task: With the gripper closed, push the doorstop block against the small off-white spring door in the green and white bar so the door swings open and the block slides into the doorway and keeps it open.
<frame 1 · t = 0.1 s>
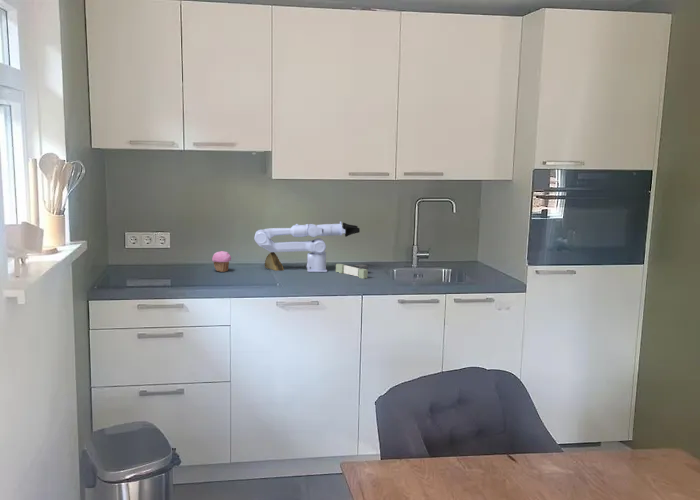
hand: (358, 229, 323), 21 cm above the table, tool horizontal, fingers open, 7 cm apart
doorstop: (360, 273, 321), on the table
rock: (273, 269, 326), on the table, touching arm
door: (352, 270, 315), point 2 cm above the table, hinge at 0.0°
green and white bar: (351, 275, 315), on the table
cupcake: (221, 271, 316), on the table
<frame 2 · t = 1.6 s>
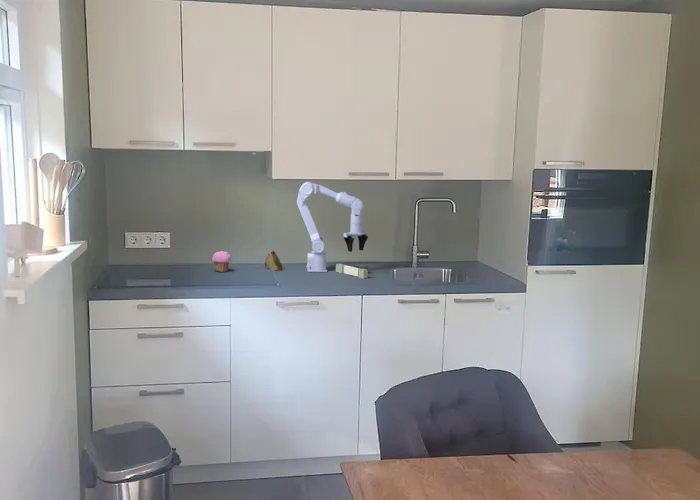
hand: (355, 250, 323), 10 cm above the table, tool pointing down, fingers open, 7 cm apart
rock: (273, 269, 326), on the table
everything else where it was.
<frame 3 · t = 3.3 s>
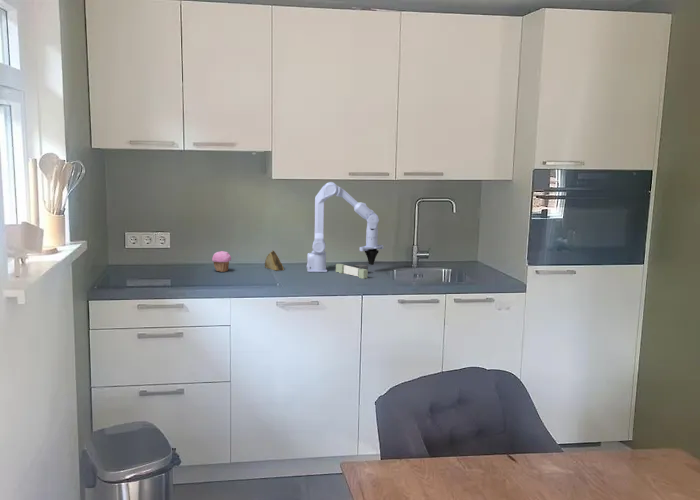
hand: (371, 264, 325), 4 cm above the table, tool pointing down, fingers closed
nothing on the table moved.
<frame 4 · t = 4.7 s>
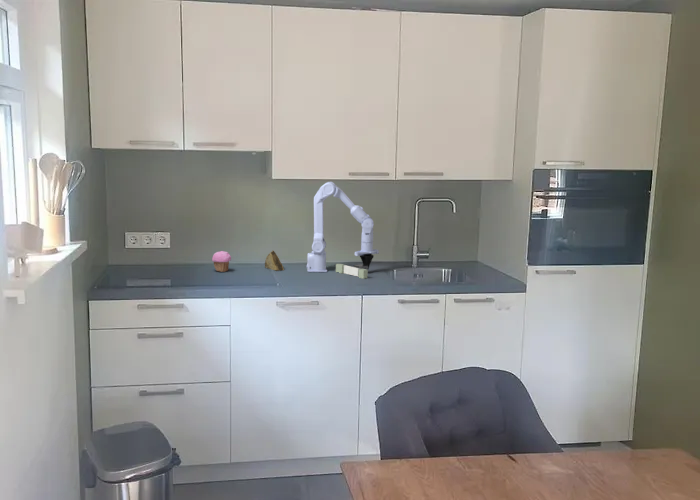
hand: (366, 269, 323), 2 cm above the table, tool pointing down, fingers closed
doorstop: (360, 273, 321), on the table, touching gripper
everything else where it was.
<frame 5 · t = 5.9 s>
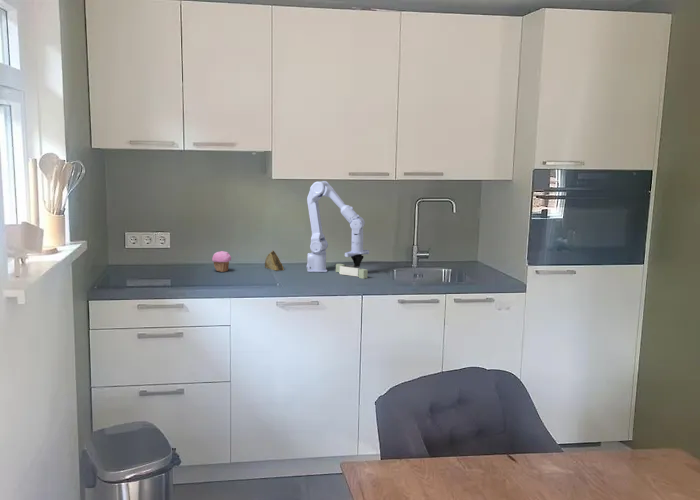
hand: (356, 270, 319), 2 cm above the table, tool pointing down, fingers closed, pressing on doorstop
doorstop: (352, 274, 317), on the table, touching door, gripper
door: (350, 271, 313), point 2 cm above the table, hinge at 18.0°, touching doorstop
everything else where it was.
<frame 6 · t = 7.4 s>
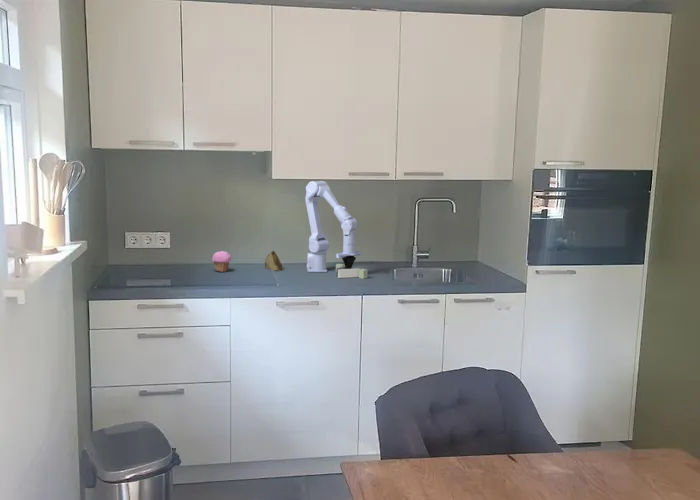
hand: (348, 271, 315), 2 cm above the table, tool pointing down, fingers closed
doorstop: (343, 276, 312), on the table, touching door, gripper
door: (349, 272, 309), point 2 cm above the table, hinge at 71.9°, touching doorstop
everything else where it was.
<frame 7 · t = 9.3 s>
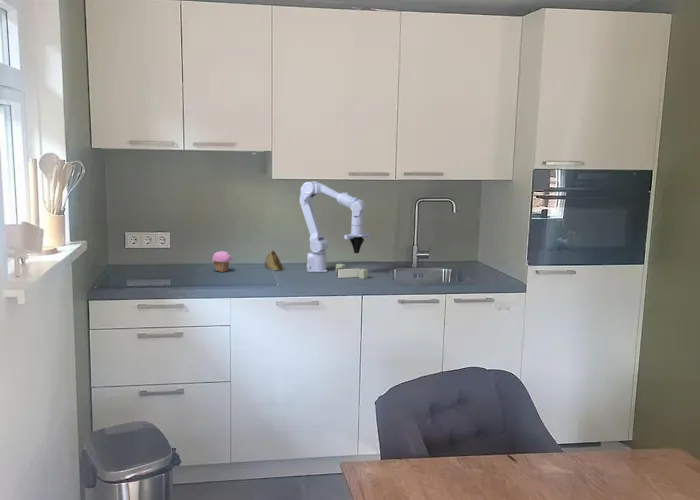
hand: (356, 253, 317), 10 cm above the table, tool pointing down, fingers closed
doorstop: (343, 276, 312), on the table
door: (349, 272, 309), point 2 cm above the table, hinge at 72.3°
everything else where it was.
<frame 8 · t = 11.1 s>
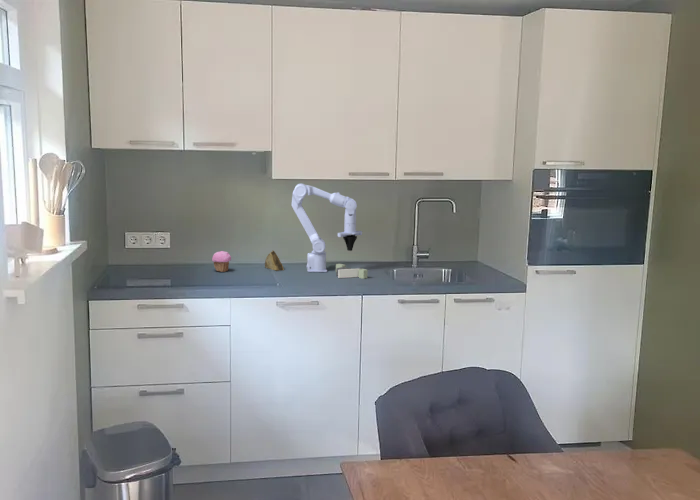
hand: (349, 250, 324), 10 cm above the table, tool pointing down, fingers closed
nothing on the table moved.
at the end: door at +72° (first picture: +0°); doorstop inside the target area (1.3 cm from its centre), on the table; doorstop tilted 0° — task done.
